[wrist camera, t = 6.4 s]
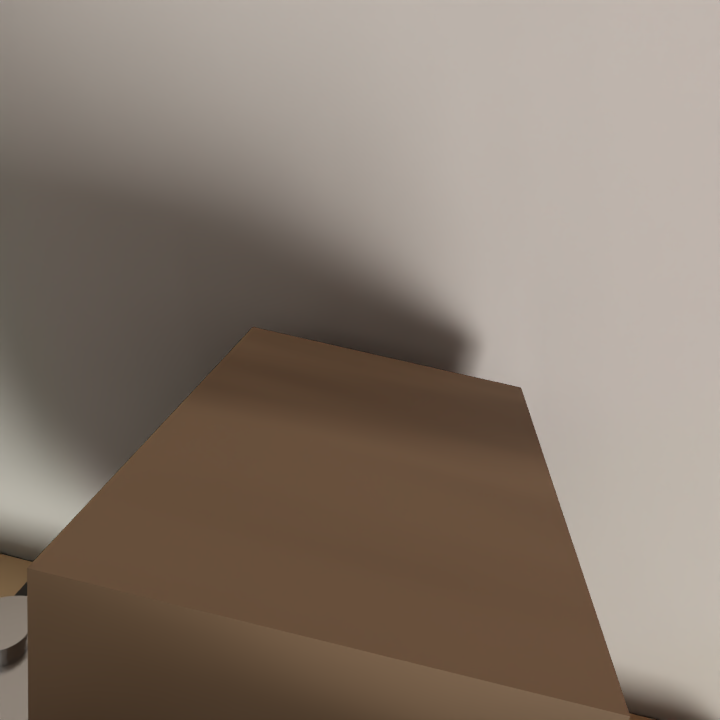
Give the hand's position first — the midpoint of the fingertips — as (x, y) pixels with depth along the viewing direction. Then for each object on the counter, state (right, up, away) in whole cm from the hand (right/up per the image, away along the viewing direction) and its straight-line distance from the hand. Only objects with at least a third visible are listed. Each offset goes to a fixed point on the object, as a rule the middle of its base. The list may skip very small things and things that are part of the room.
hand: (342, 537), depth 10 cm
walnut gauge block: (0, 0, +1) cm, 1 cm away
